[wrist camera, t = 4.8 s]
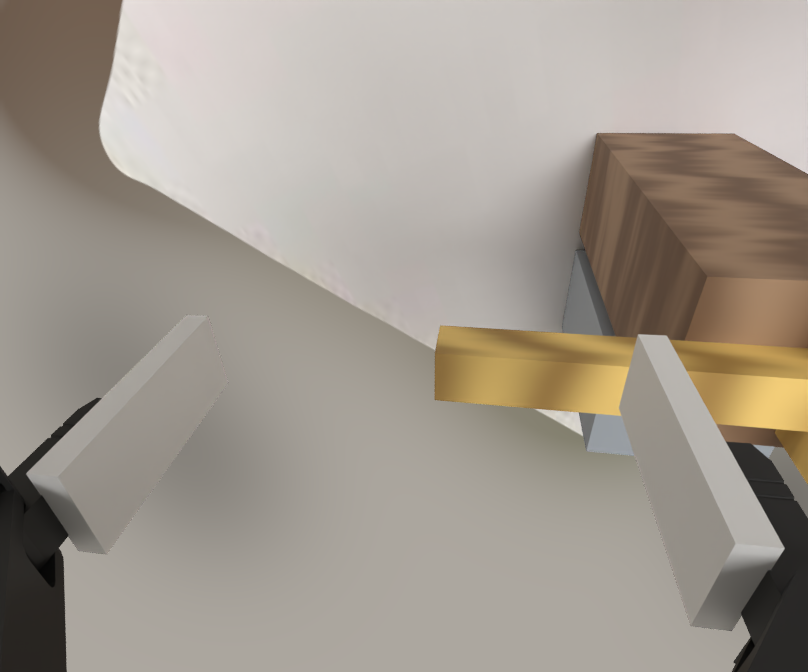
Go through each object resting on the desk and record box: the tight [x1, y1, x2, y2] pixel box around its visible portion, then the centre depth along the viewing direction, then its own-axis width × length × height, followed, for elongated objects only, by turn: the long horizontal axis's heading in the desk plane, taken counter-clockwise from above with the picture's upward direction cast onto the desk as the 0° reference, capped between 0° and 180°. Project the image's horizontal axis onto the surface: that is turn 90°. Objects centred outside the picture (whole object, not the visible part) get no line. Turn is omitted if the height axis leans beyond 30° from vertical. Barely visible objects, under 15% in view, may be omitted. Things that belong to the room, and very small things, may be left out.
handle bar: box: [435, 326, 808, 484], centre depth 23 cm, size 24×8×4 cm, turn 91°
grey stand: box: [562, 250, 774, 458], centre depth 47 cm, size 14×10×20 cm
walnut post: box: [579, 133, 808, 447], centre depth 36 cm, size 12×10×30 cm
